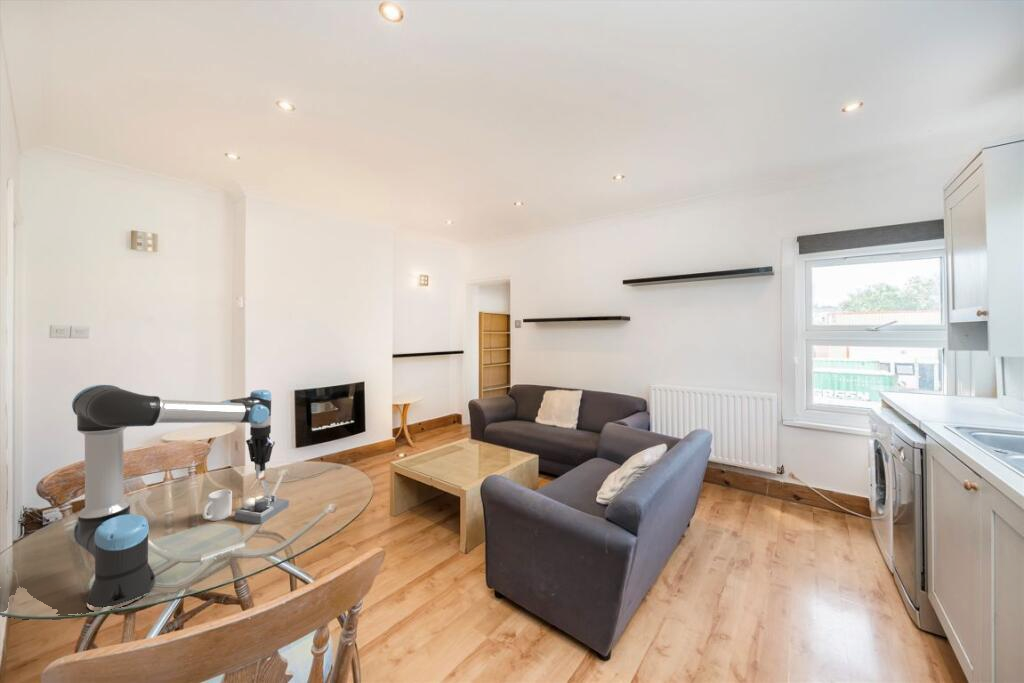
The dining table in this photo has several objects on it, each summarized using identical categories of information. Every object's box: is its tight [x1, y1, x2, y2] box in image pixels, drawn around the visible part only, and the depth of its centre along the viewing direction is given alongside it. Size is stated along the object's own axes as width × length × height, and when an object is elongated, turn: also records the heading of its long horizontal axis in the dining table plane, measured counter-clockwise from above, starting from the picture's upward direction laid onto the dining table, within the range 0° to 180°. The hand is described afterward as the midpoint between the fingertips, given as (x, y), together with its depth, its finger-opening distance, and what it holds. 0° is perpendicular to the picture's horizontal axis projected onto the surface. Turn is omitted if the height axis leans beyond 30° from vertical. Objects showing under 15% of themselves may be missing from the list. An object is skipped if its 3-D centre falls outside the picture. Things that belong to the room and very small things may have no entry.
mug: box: [201, 489, 233, 522], centre depth 163 cm, size 12×8×10 cm
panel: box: [234, 494, 290, 525], centre depth 170 cm, size 16×13×6 cm
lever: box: [258, 475, 273, 502], centre depth 174 cm, size 2×1×13 cm
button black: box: [255, 502, 267, 513], centre depth 165 cm, size 4×4×3 cm
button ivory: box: [242, 497, 256, 509], centre depth 166 cm, size 4×4×3 cm
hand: (259, 477), depth 167 cm, fingers closed
